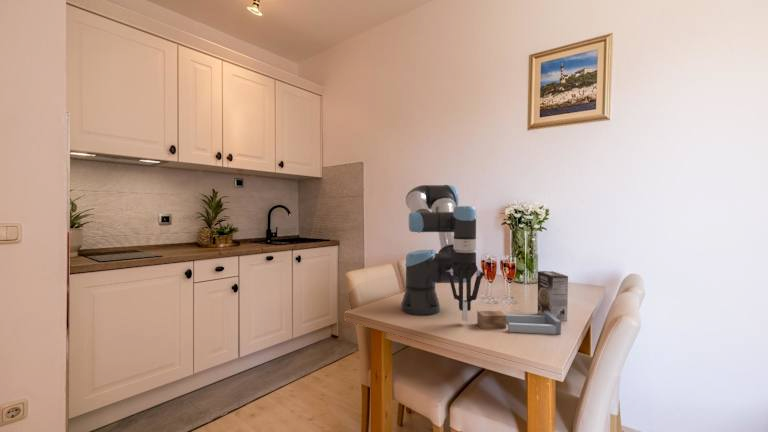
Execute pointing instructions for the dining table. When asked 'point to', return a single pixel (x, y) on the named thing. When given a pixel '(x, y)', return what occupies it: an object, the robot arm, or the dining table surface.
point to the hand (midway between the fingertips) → (464, 319)
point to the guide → (534, 323)
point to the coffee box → (553, 294)
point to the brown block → (491, 319)
